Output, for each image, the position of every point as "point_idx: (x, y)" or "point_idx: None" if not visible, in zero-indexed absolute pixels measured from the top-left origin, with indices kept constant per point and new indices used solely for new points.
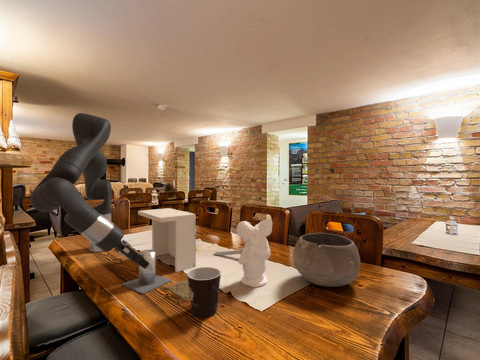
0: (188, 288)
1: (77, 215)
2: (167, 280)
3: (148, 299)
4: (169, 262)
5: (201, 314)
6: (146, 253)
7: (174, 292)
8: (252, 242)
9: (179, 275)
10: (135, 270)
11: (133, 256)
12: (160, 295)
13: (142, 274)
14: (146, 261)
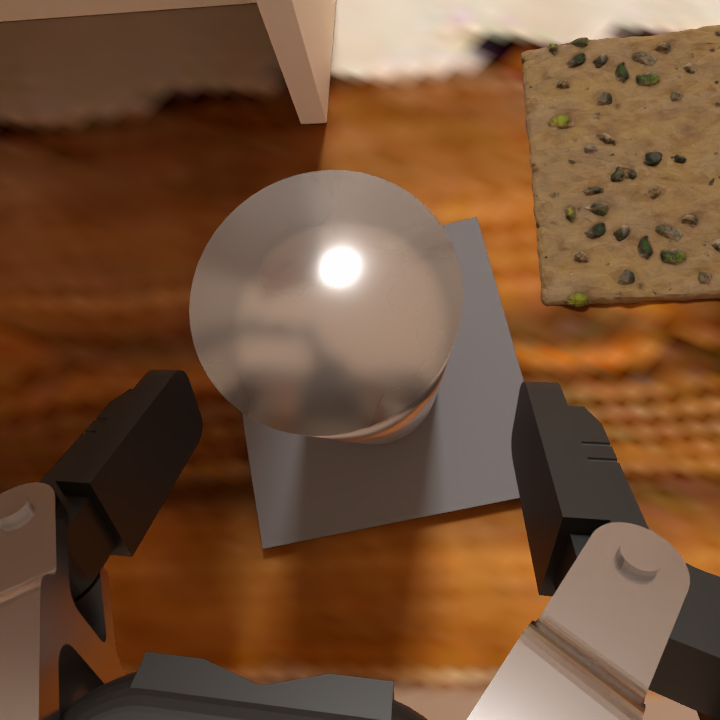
0: (703, 182)
1: None
2: (456, 245)
3: (673, 490)
4: (107, 89)
5: None
6: (419, 350)
7: (704, 292)
8: None
9: (406, 133)
10: (60, 354)
11: (156, 464)
12: (665, 391)
13: (405, 430)
14: (572, 424)
